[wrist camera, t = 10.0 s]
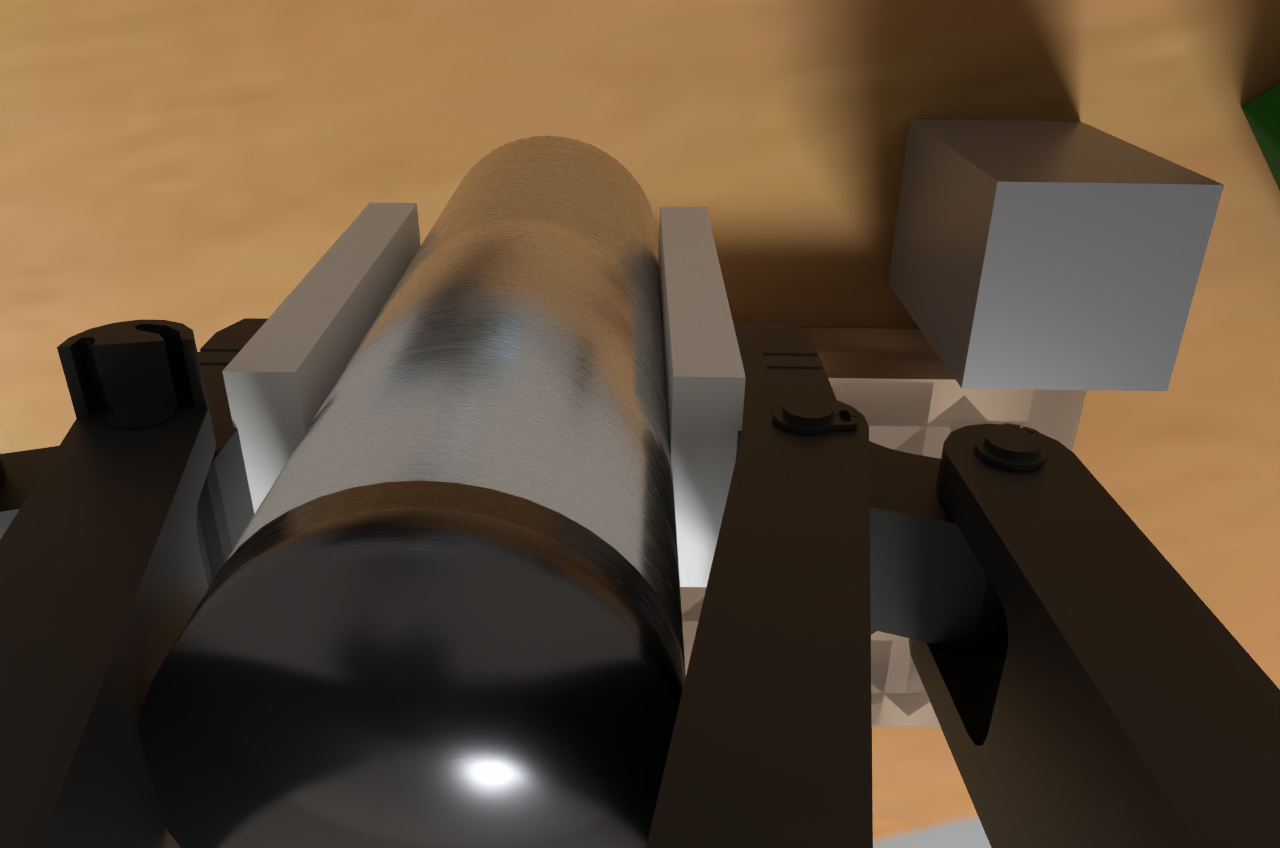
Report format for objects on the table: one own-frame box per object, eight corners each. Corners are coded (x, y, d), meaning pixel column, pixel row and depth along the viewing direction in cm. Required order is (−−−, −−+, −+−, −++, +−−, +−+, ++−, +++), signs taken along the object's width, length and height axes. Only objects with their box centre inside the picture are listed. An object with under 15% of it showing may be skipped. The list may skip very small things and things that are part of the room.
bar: (887, 282, 31) (961, 388, 24) (909, 118, 29) (997, 181, 22) (1046, 285, 31) (1167, 391, 24) (1079, 121, 29) (1223, 185, 22)
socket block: (628, 648, 38) (627, 724, 34) (632, 325, 32) (631, 375, 28) (972, 652, 38) (1006, 728, 34) (1037, 330, 32) (1088, 381, 28)
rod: (453, 341, 20) (196, 958, 8) (436, 134, 18) (76, 557, 6) (655, 343, 20) (683, 960, 8) (660, 137, 18) (703, 564, 6)
